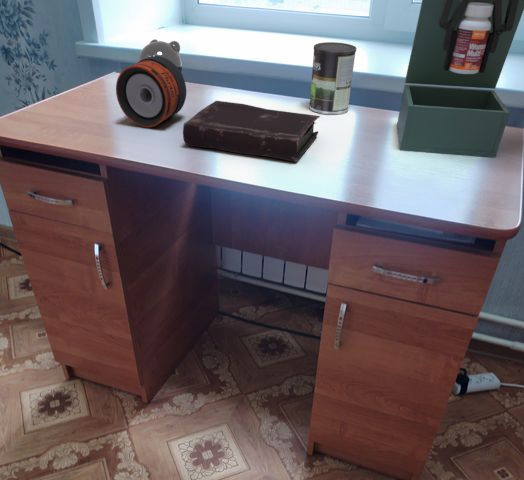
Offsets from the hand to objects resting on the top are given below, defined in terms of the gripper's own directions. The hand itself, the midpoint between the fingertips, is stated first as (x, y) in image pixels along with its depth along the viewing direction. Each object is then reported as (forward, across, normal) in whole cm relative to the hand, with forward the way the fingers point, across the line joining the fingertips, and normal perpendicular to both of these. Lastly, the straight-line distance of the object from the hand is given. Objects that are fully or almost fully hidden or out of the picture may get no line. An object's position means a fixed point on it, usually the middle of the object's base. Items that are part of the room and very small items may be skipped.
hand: (463, 69), depth 102 cm
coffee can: (+15, +27, -21) cm, 37 cm away
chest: (+15, 0, -3) cm, 15 cm away
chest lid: (-3, 0, -9) cm, 9 cm away
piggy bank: (+15, +74, -29) cm, 81 cm away
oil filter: (+15, +67, -2) cm, 69 cm away
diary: (+15, +42, +7) cm, 45 cm away
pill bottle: (0, 0, 0) cm, 0 cm away
